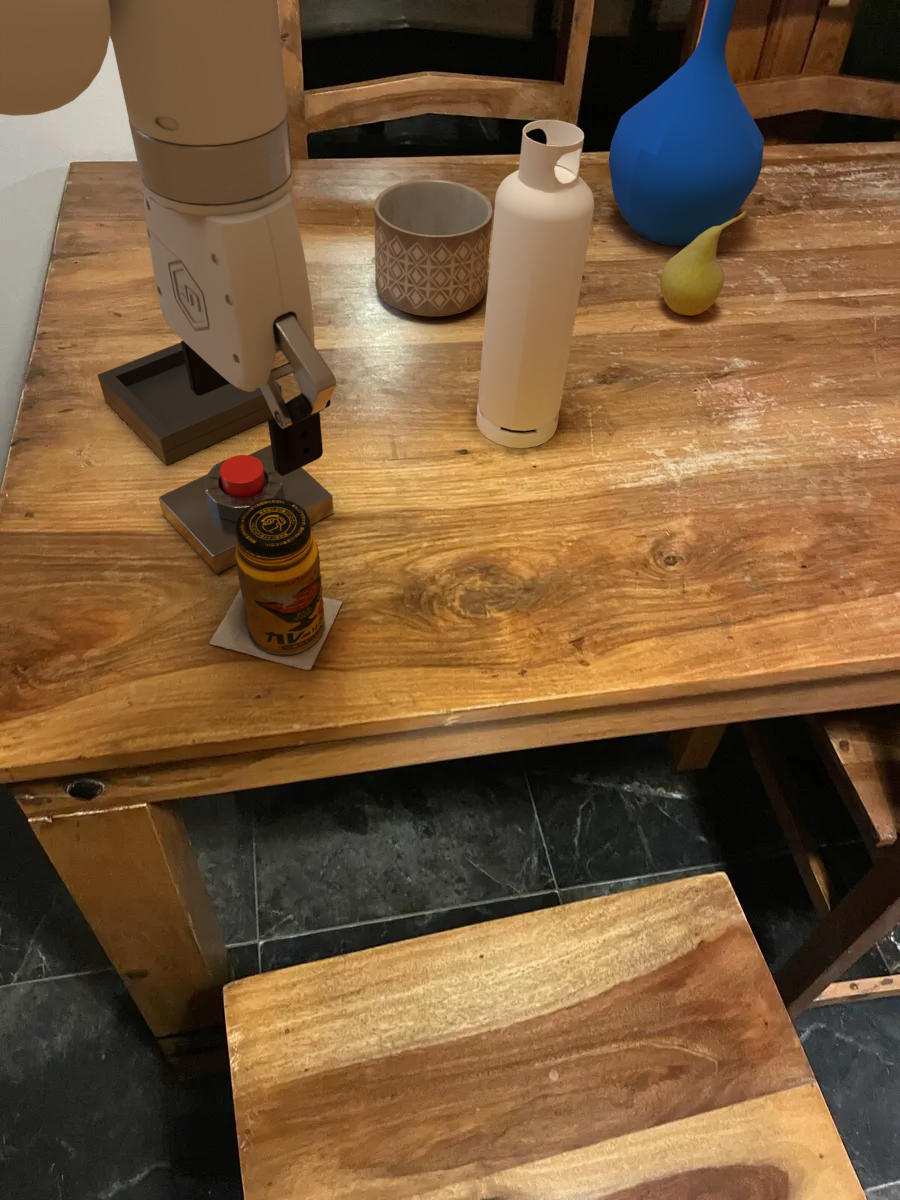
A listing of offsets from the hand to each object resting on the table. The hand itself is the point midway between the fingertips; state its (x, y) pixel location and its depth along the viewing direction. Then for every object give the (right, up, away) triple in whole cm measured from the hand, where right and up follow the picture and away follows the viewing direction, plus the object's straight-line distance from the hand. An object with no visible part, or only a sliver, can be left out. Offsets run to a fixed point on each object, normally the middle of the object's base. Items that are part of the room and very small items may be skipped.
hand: (255, 423), depth 59 cm
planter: (+10, +24, +48) cm, 55 cm away
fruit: (+40, +22, +49) cm, 67 cm away
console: (-6, -4, +24) cm, 24 cm away
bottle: (+19, +6, +34) cm, 39 cm away
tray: (-13, +8, +33) cm, 36 cm away
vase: (+41, +37, +61) cm, 82 cm away
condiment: (-2, -13, +16) cm, 21 cm away
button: (-5, -1, +21) cm, 21 cm away
